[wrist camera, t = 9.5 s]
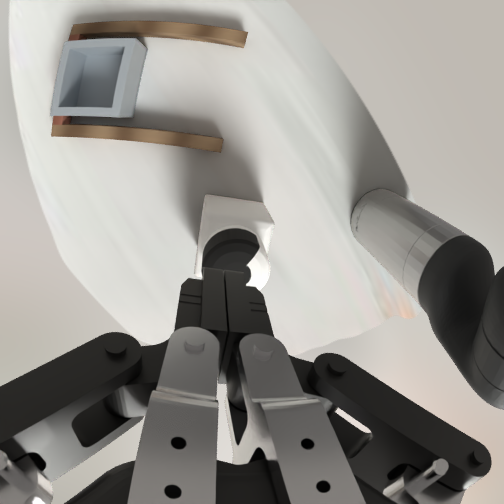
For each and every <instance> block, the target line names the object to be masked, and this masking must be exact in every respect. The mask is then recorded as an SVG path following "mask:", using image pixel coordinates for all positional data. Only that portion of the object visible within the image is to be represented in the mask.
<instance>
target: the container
mask: <svg viewBox="0 0 504 504" xmlns="http://www.w3.org/2000/svg"><path fill="white" fill-rule="evenodd" d="M273 229H274V221H273V219H272V217H271V216H270V214H269V212H268V210H267V208H266V206H265V205H264V203H261V202H255V201H249V200H243V199H236V198H230V197H223V196H216V195H209V194H207V195H205V197H204V203H203V210H202V217H201V224H200V231H199V238H198V246H197V254H196V262H195V271H194V274H195V275H196V276H198V277H202V275H203V269H204V267H207V268H215V269H222V270H223V272H224V270H230V271H237V272H244V276H245V282H246V286H254V287H256V288H257V289H258V290H259V291H260V290H261V289H262V288H263V286H264V285H265V284H266V282H267V280H268V278H269V275H270V261H269V258H268V256H267V254H268V250H269V246H270V241H271V237H272V233H273Z"/></svg>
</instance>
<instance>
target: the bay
mask: <svg viewBox="0 0 504 504" xmlns="http://www.w3.org/2000/svg"><path fill="white" fill-rule="evenodd" d="M247 34H248V32H245V31H239V30H234V29H228V28H222V27H215V26H207V25H199V24H189V23H178V22H161V21H111V22H95V23H84V24H75V25H73V27H72V30H71V33H70V37H69V41H76V40H87V38H96V37H159V38H174V39H185V40H195V41H203V42H211V43H217V44H224V45H230V46H235V47H241V48H244V45H245V42H246V38H247ZM70 123H71V116H53V124H52V133H51V136H56V137H84V138H101V139H115V140H127V141H138V142H148V143H157V144H165V145H173V146H181V147H188V148H195V149H202V150H208V151H214V152H220V153H221V149H222V144H223V139H222V138H216V137H210V136H204V135H197V134H190V133H183V132H175V131H167V130H158V129H148V128H138V127H126V126H111V125H92V124H70Z"/></svg>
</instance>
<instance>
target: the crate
mask: <svg viewBox="0 0 504 504" xmlns="http://www.w3.org/2000/svg"><path fill="white" fill-rule="evenodd" d="M147 51H148V49H147V48H146V47H145V46H144V45H143V44H142V43H141V42H140V41H138V40H137V39H136V38H107V39H88V40H76V41H66V42H65V43H64V47H63V50H62V54H61V59H60V63H59V67H58V72H57V77H56V82H55V88H54V93H53V100H52V106H51V113H50V116H100V117H134V112H135V107H136V101H137V96H138V91H139V86H140V81H141V76H142V72H143V68H144V63H145V59H146V55H147Z"/></svg>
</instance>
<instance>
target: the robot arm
mask: <svg viewBox="0 0 504 504" xmlns="http://www.w3.org/2000/svg"><path fill="white" fill-rule="evenodd" d="M351 228H352V232H353V235H354V237H355V238H356V239H357V241H358V242H359V243H360V244H361V245H362V246H363V247H364V248H365V249H366V250H367V251H368V252H369V253H370V254H371V255H372V256H373V257H374V258H375V259H376V260H377V261H378V262H379V263H380V264H381V265H382V266H383V267H384V268H385V269H386V270H387V271H388V272H389V273H390V274H391V275H392V276H393V277H394V278H395V279H396V280H397V281H398V282H399V284H400V285H401V286H402V287H403V288H404V289H405V290H406V291H407V292H408V293H409V294H410V295H411V296H412V297H413V298H414V299H415V301H416V302H417V303H418V304H419V305H420V306H421V307H422V308H423V309H424V311H425V312H426V313H427V315H428V317H429V320H430V324H431V326H432V329H433V332H434V334H435V335H436V337H437V338H438V340H439V342H440V343H441V344H442V346H443V347H444V349H445V350H446V351H447V353H448V354H449V356H450V357H451V359H452V360H453V362H454V363H455V365H456V366H457V368H458V369H459V371H460V372H461V373H462V375H463V376H464V378H465V379H466V381H467V382H468V383H469V385H470V386H471V387H472V388H473V390H474V391H475V392H476V393H477V394H478V395H479V396H480V397H481V398H482V399H483V400H485V401H486V402H487V403H489V404H490V405H492V406H494V407H496V408H499V409H503V410H504V267H502V268H501V269H500V270H499V271H498V272H497V274H496V275H495V274H494V265H493V261H492V257H491V255H490V253H489V251H488V250H487V249H486V248H485V247H484V246H483V245H482V244H481V243H479V242H478V241H476V240H475V239H473V238H472V237H470V236H469V235H467V234H465V233H464V232H462V231H461V230H459V229H457V228H456V227H454V226H452V225H451V224H449V223H447V222H446V221H444V220H442V219H441V218H439V217H437V216H435V215H434V214H432V213H430V212H429V211H427V210H425V209H423V208H422V207H420V206H418V205H416V204H414V203H412V202H411V201H409V200H407V199H405V198H403V197H402V196H400V195H398V194H396V193H394V192H392V191H390V190H387V189H376V190H373V191H370V192H368V193H367V194H365V195H364V196H363V197H362V198H361V199H360V200H359V201H358V203H357V204H356V206H355V208H354V211H353V213H352V218H351ZM217 378H218V383H219V384H227V394H226V398H225V408H226V414H227V420H228V426H229V431H230V437H231V442H232V448H233V462H232V464H231V463H227V462H223V461H219V460H217V432H218V400H216V395H217ZM338 407H339V408H340V409H341V410H343V411H344V412H346V413H347V414H349V415H350V416H351V417H353V418H354V419H356V420H357V421H359V422H360V423H362V424H363V425H364V426H366V427H367V428H369V429H370V431H371V433H365V432H363V431H361V430H359V429H358V428H357V427H355V426H354V425H352V424H351V423H349V422H348V421H347V420H345V419H344V418H342V417H341V416H339V415H338V414H337V413H335V411H336V410H337V408H338ZM144 416H145V421H144V425H143V429H142V434H141V438H140V442H139V447H138V452H137V456H136V460H135V461H131V462H127V463H124V464H121V465H119V466H116V467H115V468H113V469H111V470H109V471H107V472H106V473H104V474H103V475H102V476H101V477H99V478H98V479H97V480H95V481H94V482H93V483H91V484H90V485H89V486H87V487H86V488H85V489H83V490H82V491H81V492H79V493H78V494H77V495H76V496H74V497H73V498H71V499H70V500H69V501H67V502H66V503H64V504H460V503H461V500H462V497H463V495H464V492H465V490H466V489H467V488H468V487H470V486H471V485H473V484H474V483H475V482H477V481H478V480H479V479H481V478H482V477H484V476H485V475H486V474H487V473H488V472H489V470H490V468H491V456H490V453H489V452H488V450H487V448H486V447H485V446H484V445H483V444H481V443H480V442H478V441H476V440H475V439H473V438H471V437H470V436H468V435H466V434H465V433H463V432H461V431H459V430H458V429H456V428H455V427H453V426H451V425H449V424H448V423H446V422H444V421H443V420H441V419H440V418H438V417H436V416H435V415H433V414H432V413H430V412H428V411H427V410H425V409H424V408H422V407H420V406H419V405H417V404H416V403H414V402H413V401H411V400H409V399H408V398H406V397H405V396H403V395H402V394H400V393H398V392H397V391H395V390H394V389H392V388H391V387H389V386H388V385H386V384H385V383H383V382H382V381H380V380H378V379H377V378H375V377H374V376H372V375H371V374H369V373H368V372H366V371H365V370H363V369H362V368H360V367H359V366H357V365H356V364H354V363H353V362H351V361H350V360H348V359H347V358H345V357H343V356H341V355H338V354H334V353H325V354H321V355H319V356H318V357H317V358H316V359H315V361H314V363H313V362H309V361H305V360H302V359H298V358H295V357H292V356H290V355H288V353H287V350H286V348H285V346H284V345H283V344H282V343H281V342H280V341H279V340H278V339H276V338H274V334H273V331H272V327H271V323H270V319H269V315H268V313H267V308H266V305H265V300H264V296H263V294H262V293H261V292H260V291H259V290H258V289H257V288H256V287H254V286H246V282H245V276H244V272H237V271H230V270H224V272H223V270H222V269H215V268H207V267H204V269H203V275H202V280H199V279H191V278H188V279H187V280H186V281H185V282H184V283H183V284H182V285H181V291H180V297H179V303H178V310H177V316H176V323H175V329H174V332H173V333H172V335H171V336H170V338H169V339H168V340H166V341H165V342H163V343H160V344H157V345H150V346H140V344H139V342H138V341H137V340H136V339H135V338H133V337H132V336H130V335H128V334H124V333H119V332H111V333H106V334H103V335H101V336H99V337H97V338H95V339H93V340H91V341H89V342H87V343H85V344H83V345H81V346H79V347H77V348H75V349H73V350H71V351H70V352H67V353H65V354H64V355H62V356H60V357H58V358H56V359H54V360H52V361H50V362H48V363H46V364H44V365H42V366H40V367H38V368H36V369H34V370H32V371H30V372H28V373H26V374H24V375H23V376H20V377H18V378H16V379H14V380H12V381H10V382H8V383H6V384H4V385H2V386H0V504H51V502H52V499H53V489H52V485H51V482H53V481H54V480H56V479H57V478H59V477H61V476H62V475H64V474H65V473H67V472H68V471H70V470H71V469H73V468H74V467H76V466H77V465H79V464H80V463H82V462H83V461H85V460H86V459H88V458H89V457H91V456H92V455H94V454H95V453H97V452H98V451H100V450H101V449H102V448H104V447H105V446H107V445H108V444H110V443H111V442H112V441H114V440H115V439H117V438H118V437H119V436H121V435H122V434H123V433H125V432H126V431H128V430H129V429H130V428H132V427H133V426H134V425H136V424H137V423H138V422H140V421H141V420H142V419H143V417H144Z"/></svg>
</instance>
